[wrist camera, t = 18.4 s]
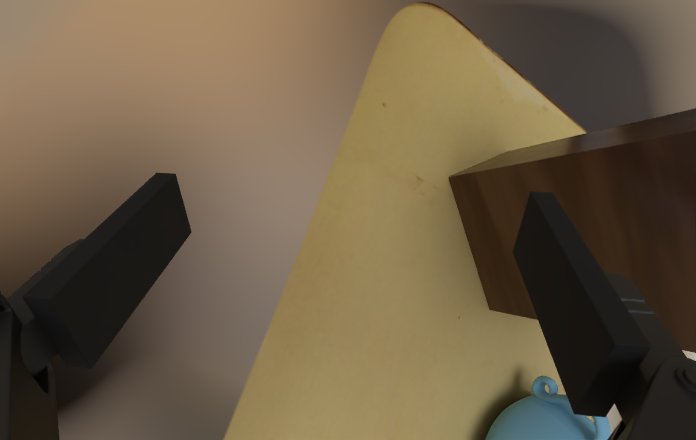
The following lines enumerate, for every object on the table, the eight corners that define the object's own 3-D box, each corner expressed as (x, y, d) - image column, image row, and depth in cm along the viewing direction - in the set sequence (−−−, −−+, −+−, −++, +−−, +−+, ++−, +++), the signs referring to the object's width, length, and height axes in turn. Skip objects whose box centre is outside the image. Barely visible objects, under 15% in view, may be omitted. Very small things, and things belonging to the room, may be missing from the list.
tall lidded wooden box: (489, 310, 45) (1120, 442, 16) (448, 177, 43) (1091, 54, 14) (542, 273, 50) (1110, 325, 21) (506, 151, 48) (1086, 18, 19)
